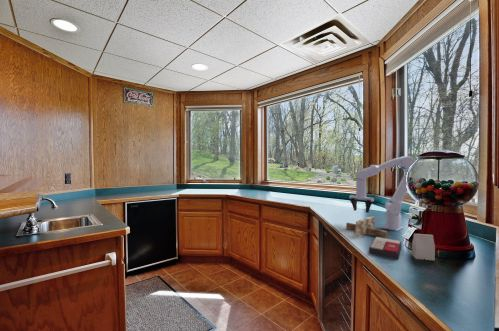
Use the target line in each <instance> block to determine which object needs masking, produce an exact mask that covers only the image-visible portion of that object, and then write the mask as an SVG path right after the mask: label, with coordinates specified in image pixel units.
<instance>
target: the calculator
mask: <svg viewBox="0 0 499 331" xmlns="http://www.w3.org/2000/svg"><path fill="white" fill-rule="evenodd" d="M402 246H403V245H402V241H400V240H396V239H390V238H386V239H385V238H381V237H377V236H374V239H373V240H372V242H371V244H370V245H369V249H368V250H369V252H368V253H369V254H371V255H376V256H379V257H383V258H389V259H392V260H393V259H394V260H399V258H400V255H401V251H402Z"/></svg>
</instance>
